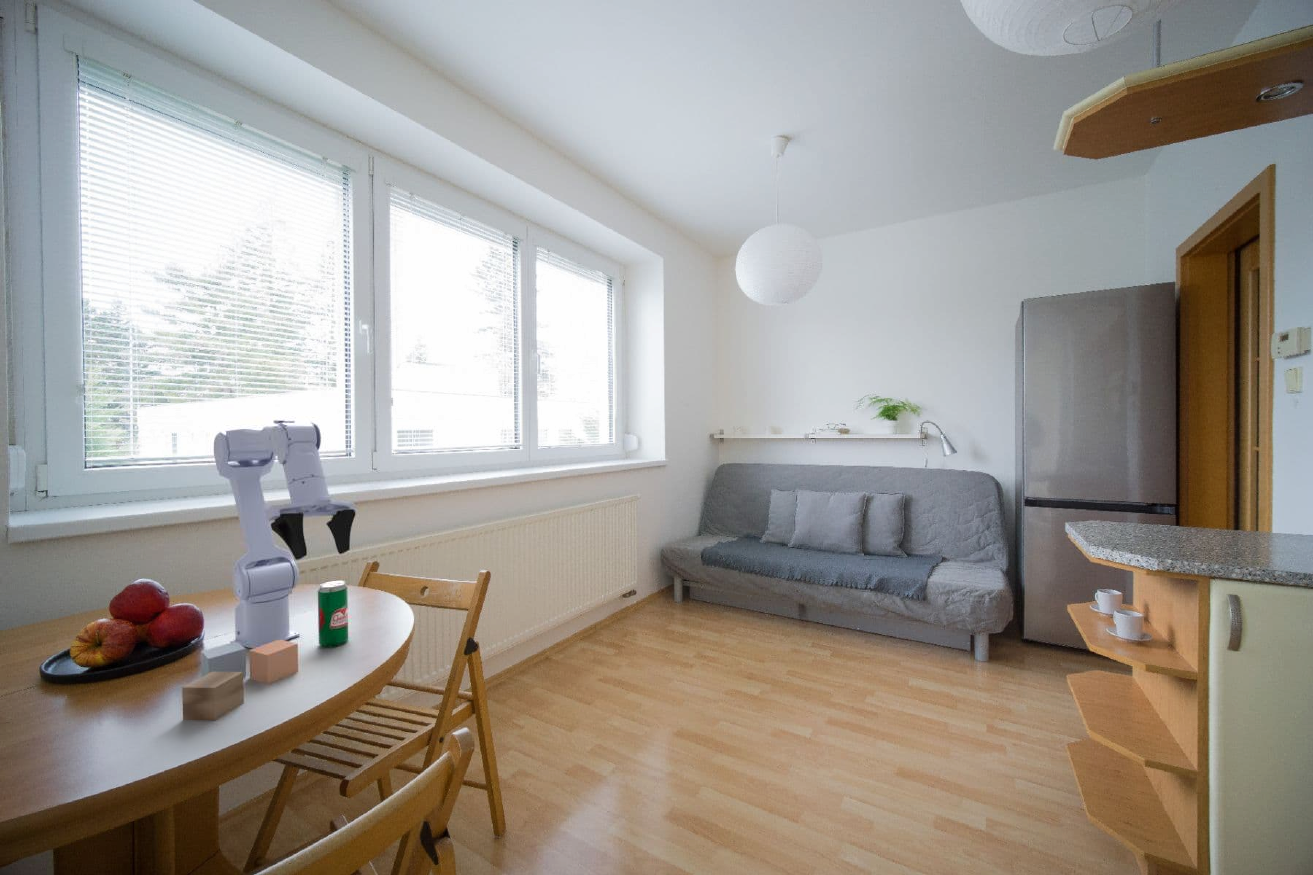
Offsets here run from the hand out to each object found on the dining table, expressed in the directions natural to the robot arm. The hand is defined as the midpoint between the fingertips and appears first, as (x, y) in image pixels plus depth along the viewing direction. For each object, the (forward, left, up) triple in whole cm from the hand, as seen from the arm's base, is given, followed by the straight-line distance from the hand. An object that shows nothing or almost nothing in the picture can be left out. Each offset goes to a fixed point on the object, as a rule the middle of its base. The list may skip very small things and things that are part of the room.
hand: (323, 554), depth 90 cm
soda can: (-11, +10, -21) cm, 26 cm away
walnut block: (-4, -14, -21) cm, 26 cm away
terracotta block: (-8, -3, -21) cm, 23 cm away
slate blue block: (-15, -7, -21) cm, 27 cm away
